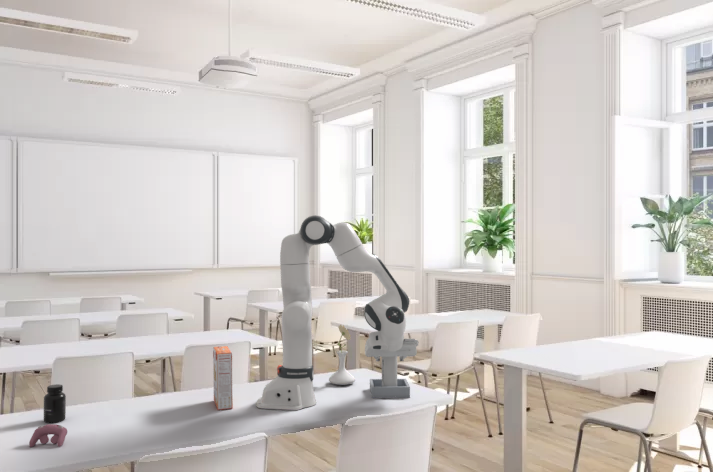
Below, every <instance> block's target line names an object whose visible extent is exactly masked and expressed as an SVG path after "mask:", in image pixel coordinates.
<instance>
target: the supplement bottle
mask: <svg viewBox="0 0 713 472" xmlns="http://www.w3.org/2000/svg"><path fill="white" fill-rule="evenodd" d="M46 387H47V388H46V394H44V397H43V422H44V423H45V424H56V423H57V424H59V423H62V422H63V421H65V420H66V411H67V409H66V405H67V404H66V403H67V402H66V400H67V397H66V396H67V395H66V393H65V392H63V391H64V387H63V384H49V385H47V386H46Z"/></svg>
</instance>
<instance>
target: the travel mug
mask: <svg viewBox="0 0 713 472" xmlns="http://www.w3.org/2000/svg"><path fill="white" fill-rule="evenodd" d="M381 379H382V387H397V379H398V356H395V357H381Z"/></svg>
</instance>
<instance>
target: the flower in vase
mask: <svg viewBox="0 0 713 472" xmlns="http://www.w3.org/2000/svg"><path fill="white" fill-rule="evenodd" d="M337 327H338V331H339V332H340V335H341V336H340V339H339V341H338V342H337V346H339V348H340V350H336V352H335V353H336V354H337V356H338V361H339V366H338V369H337V371H334V373H333V374H332V375H331V376H330V377H329V378H328V382H329V383H330V384H332V385H338V386H346V385H347V386H348V385H351V384H353V383H355V381H356V378H355V376H354V375H352V374H351V373H350V372H349V371H348V370H347V369H346V367H345V365H346V364H345V363H346V356H347V354H348V351H347V350H342V349H343V348H344V347H346V343H344V345H342V346H341V341H342V340H341V339H342V337H344V339H346V340H347V341H350V340H352V338H351V337H352V335H351V334H350V332H349V329H348V328H346V327H345V325H342V324H339V325H338V326H337Z"/></svg>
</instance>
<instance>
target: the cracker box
mask: <svg viewBox="0 0 713 472" xmlns="http://www.w3.org/2000/svg"><path fill="white" fill-rule="evenodd" d="M212 359H213V361H212V363H213V369H212V370H213V371H212V372H213V402H214V404H215V406H216V407H215V408H216V409H217V411H220V410H221V411H224V410H231V409H234V408H233V407H234V406H233V405H234V404H233V351H231V349H230V348H229V347H228V346H227V345H224V346H213V348H212Z"/></svg>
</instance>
